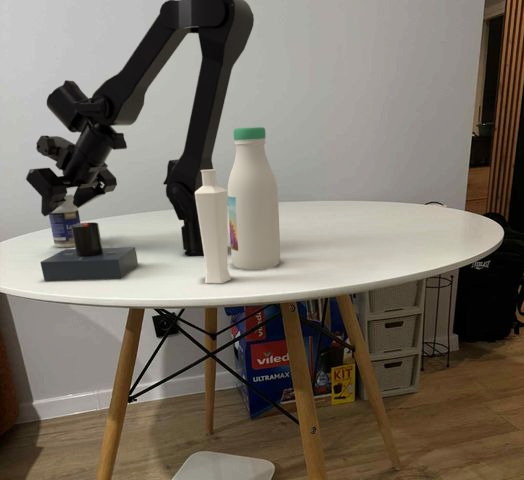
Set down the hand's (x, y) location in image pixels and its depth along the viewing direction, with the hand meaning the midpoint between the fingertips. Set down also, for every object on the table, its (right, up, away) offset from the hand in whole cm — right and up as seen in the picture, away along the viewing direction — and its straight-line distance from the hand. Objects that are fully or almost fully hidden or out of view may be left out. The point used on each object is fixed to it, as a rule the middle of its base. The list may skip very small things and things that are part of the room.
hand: (58, 211), depth 101 cm
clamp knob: (+14, -13, -22) cm, 29 cm away
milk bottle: (+40, -14, -21) cm, 48 cm away
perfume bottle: (+35, -18, -29) cm, 49 cm away
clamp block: (+14, -15, -21) cm, 30 cm away
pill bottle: (+2, -6, +2) cm, 7 cm away
